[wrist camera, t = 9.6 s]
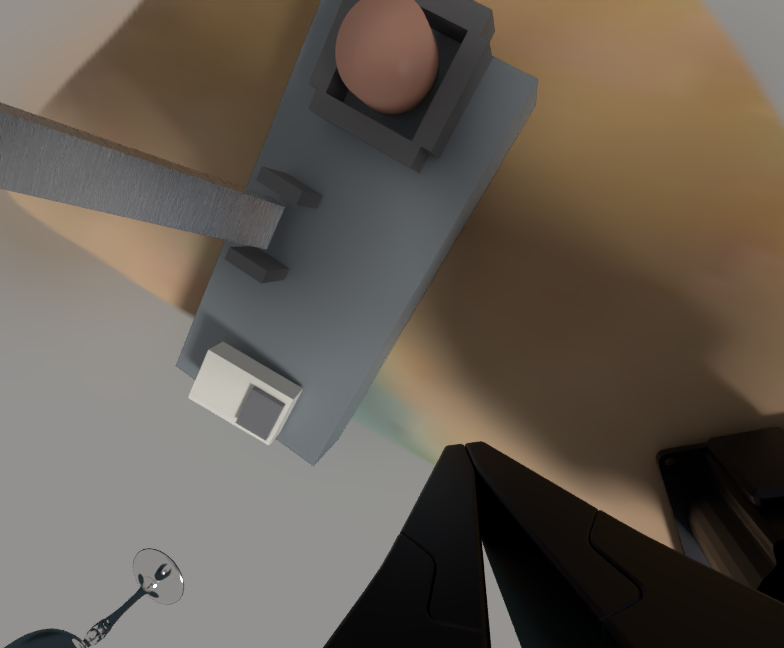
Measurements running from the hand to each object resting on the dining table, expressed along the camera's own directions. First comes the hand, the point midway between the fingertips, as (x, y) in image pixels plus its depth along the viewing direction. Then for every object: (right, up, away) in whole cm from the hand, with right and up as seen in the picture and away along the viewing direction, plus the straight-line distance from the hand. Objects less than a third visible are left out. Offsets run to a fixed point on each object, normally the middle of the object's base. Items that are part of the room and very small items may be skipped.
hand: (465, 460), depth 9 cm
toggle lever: (-6, +7, +10) cm, 14 cm away
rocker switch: (-8, 0, +12) cm, 14 cm away
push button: (-2, +12, +6) cm, 14 cm away
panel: (-4, +7, +12) cm, 14 cm away
